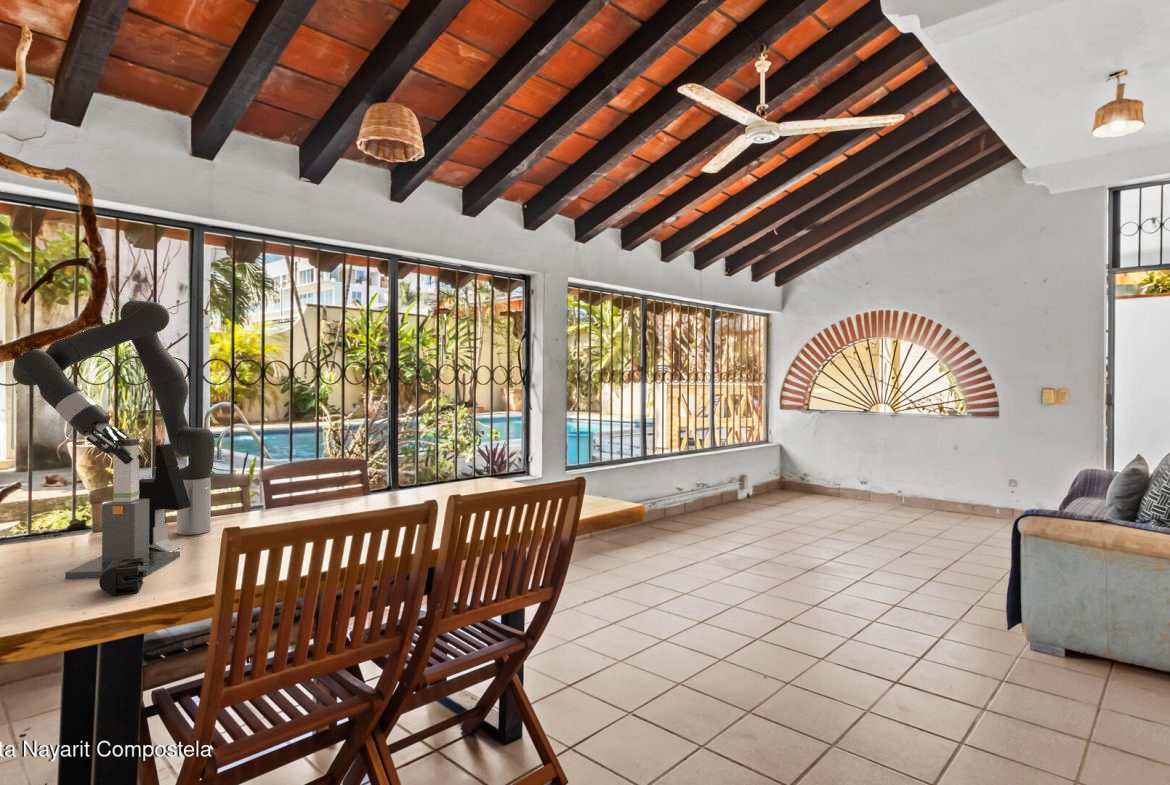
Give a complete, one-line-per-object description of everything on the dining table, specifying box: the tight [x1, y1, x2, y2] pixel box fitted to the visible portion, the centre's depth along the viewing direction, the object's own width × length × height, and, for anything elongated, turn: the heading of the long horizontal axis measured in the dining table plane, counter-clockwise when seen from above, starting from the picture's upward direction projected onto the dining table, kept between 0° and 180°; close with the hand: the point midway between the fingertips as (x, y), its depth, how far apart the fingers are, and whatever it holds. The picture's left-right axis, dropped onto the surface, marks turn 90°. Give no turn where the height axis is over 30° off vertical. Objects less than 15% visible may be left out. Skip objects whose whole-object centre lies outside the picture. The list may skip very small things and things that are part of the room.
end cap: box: [98, 557, 145, 597], centre depth 149 cm, size 10×7×7 cm
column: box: [112, 438, 141, 503], centre depth 167 cm, size 4×4×25 cm
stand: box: [64, 499, 181, 579], centre depth 167 cm, size 18×18×17 cm
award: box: [139, 443, 191, 552], centre depth 185 cm, size 15×5×30 cm, turn 84°
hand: (134, 460), depth 168 cm, fingers open, 4 cm apart
